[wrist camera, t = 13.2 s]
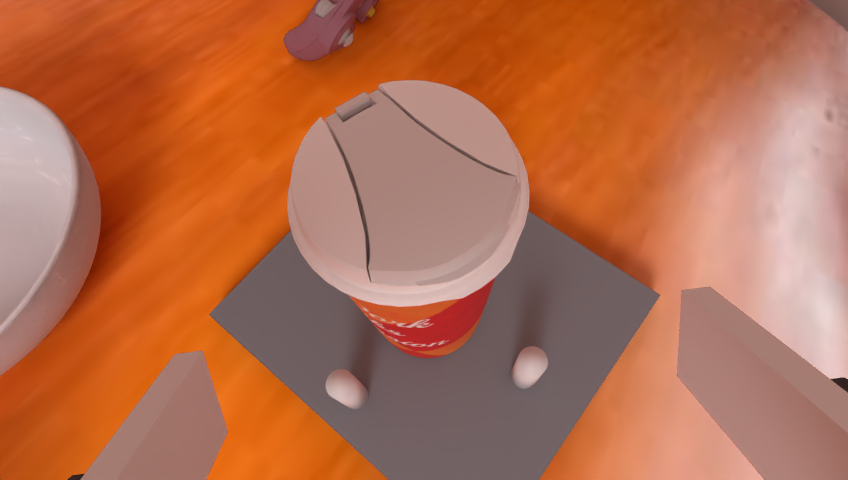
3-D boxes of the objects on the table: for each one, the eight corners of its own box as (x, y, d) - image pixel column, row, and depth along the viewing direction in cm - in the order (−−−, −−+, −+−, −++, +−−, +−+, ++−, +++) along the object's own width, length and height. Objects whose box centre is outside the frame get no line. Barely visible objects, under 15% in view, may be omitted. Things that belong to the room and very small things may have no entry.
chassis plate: (219, 321, 32) (174, 293, 27) (395, 137, 37) (386, 84, 32) (481, 560, 26) (486, 580, 21) (651, 302, 31) (688, 269, 26)
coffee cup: (332, 290, 31) (232, 143, 17) (446, 218, 32) (437, 31, 19) (408, 413, 28) (359, 352, 14) (531, 327, 29) (594, 197, 15)
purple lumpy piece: (326, 88, 41) (342, 42, 35) (277, 51, 40) (285, -3, 34) (391, 7, 44) (417, -48, 38) (348, -28, 44) (367, -92, 37)
